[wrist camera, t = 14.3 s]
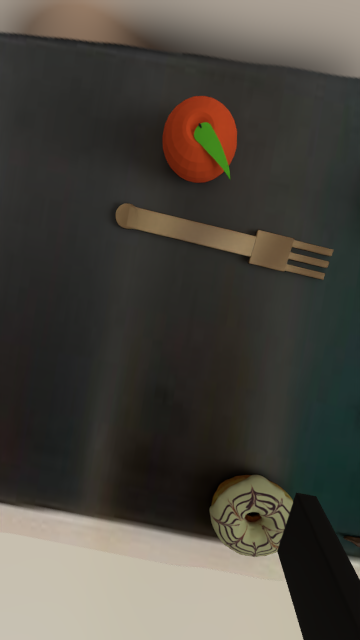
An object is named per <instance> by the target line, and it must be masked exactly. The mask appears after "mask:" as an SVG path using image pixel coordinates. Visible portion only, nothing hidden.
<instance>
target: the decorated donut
mask: <svg viewBox="0 0 360 640" xmlns="http://www.w3.org/2000/svg"><path fill="white" fill-rule="evenodd" d="M292 504H293V501H292V499H291V497H290V496H289V495H288V494H287V493H286V492H285V490H283V489H282V488H281V487H280V486H278V485H277V484H275V483H273V482H271V481H269V480H267V479H266V478H264V477H263V476H260V475H241V476H235V477H233V478H231V479H228V480H225V481H224V482H223V483H221V484H220V485H219V486H218V489H217V491H216V492H215V494H214V496H213V500H212V505H211V507H210V509H209V510H210V516H211V522H212V525H213V528H214V530H215V532H216V534H217V536H218V537H219V539H220V540H221V541H222V542H223V544H225V545H226V546H228V547H229V548H230V549H232V550H234V551H235V552H237V553H239V554H241V555H245V556H253V557H258V556H266V555H269V554H272V553H276V552H277V550H278V547H279V544H280V541H281V538H282V535H283V532H284V529H285V526H286V523H287V520H288V516H289V513H290V510H291V507H292ZM251 512H257V513H259V514H257V515H254V516H250V515H247V513H251Z"/></svg>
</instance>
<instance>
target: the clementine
mask: <svg viewBox="0 0 360 640" xmlns="http://www.w3.org/2000/svg"><path fill="white" fill-rule="evenodd" d="M236 146H237V130H236V125H235V121H234V119H233V117H232V115H231V113H230V112H229V110H228V109H227V108H226V107H225V106H224V105H223V104H222V103H220V102H219V101H217V100H215V99H213V98H210V97H206V96H194V97H192V98H189V99H186V100H184V101H183V102H182V103H180V104H179V105H178V106H176V107H175V108H174V110H173V111H172V112H171V113H170V115H169V117H168V119H167V121H166V123H165V127H164V132H163V151H164V154H165V158H166V160H167V162H168V164H169V165H170V167H171V169H172V170H173V171H174V172H175V173H176V174H177V175H178V176H179V177H181V178H183V179H185V180H187V181H190V182H195V183H201V182H207V181H210V180H213V179H214V178H216V177H217V176H219V175H220V174H222V173H223V172H224V171H225V173H226V174H227V175H228V177H229V179H230V171H229V165H230V163H231V161H232V159H233V157H234V154H235V150H236Z"/></svg>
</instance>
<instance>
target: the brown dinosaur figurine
mask: <svg viewBox="0 0 360 640" xmlns="http://www.w3.org/2000/svg"><path fill="white" fill-rule="evenodd" d="M344 539H346V540H348V541H351V542H353V543H354V544H355V545H356V546H358V547H360V538H355V537H352V536H345V537H344Z"/></svg>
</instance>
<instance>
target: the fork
mask: <svg viewBox="0 0 360 640" xmlns="http://www.w3.org/2000/svg"><path fill="white" fill-rule="evenodd" d="M116 221H117V223H118V224H119V225H120V226H121V227H123V228H125V229H137V230H141V231H145V232H149V233H153V234H157V235H162V236H166V237H170V238H174V239H178V240H182V241H186V242H190V243H195V244H199V245H203V246H207V247H211V248H215V249H219V250H224V251H228V252H232V253H236V254H240V255H244V256H248V257H249V261H248V263H250V264H254V265H258V266H262V267H266V268H270V269H274V270H279V271H283V272H284V271H289V272H293V273H297V274H301V275H305V276H309V277H313V278H317V279H322V280H323V279H324V276H325V273H321V272H317V271H313V270H309V269H304V268H300V267H296V266H292V265H288V264H287V261H288V259H290V260H294V261H299V262H303V263H307V264H311V265H315V266H319V267H323V268H327V267H328V264H329V262H328V261H324V260H320V259H316V258H312V257H308V256H303V255H299V254H295V253H291V252H290V251H291V248H292V247H293V248H297V249H301V250H305V251H310V252H314V253H318V254H322V255H326V256H331V255H332V252H333V250H332V249H328V248H324V247H320V246H316V245H312V244H307V243H303V242H299V241H295V240H294V238H289V237H285V236H281V235H277V234H273V233H269V232H265V231H261V230H257V232H256V236H252V235H248V234H244V233H240V232H236V231H231V230H227V229H223V228H219V227H215V226H211V225H207V224H203V223H199V222H194V221H190V220H186V219H182V218H178V217H174V216H170V215H166V214H161V213H157V212H153V211H149V210H145V209H141V208H137V207H135V206H134V205H132V204H128V203H126V204H122V205H121V206H119V207H118V209H117V211H116Z"/></svg>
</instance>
